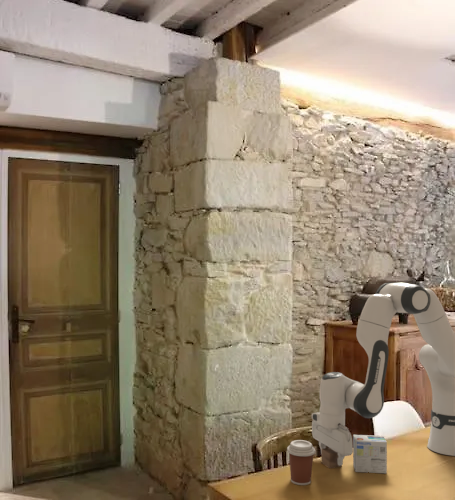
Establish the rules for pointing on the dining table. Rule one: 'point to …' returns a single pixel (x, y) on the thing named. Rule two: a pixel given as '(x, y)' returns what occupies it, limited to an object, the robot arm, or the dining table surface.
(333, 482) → the dining table surface
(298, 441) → the coffee cup
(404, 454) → the dining table surface
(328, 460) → the walnut cube
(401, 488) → the dining table surface
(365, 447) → the light bulb box
